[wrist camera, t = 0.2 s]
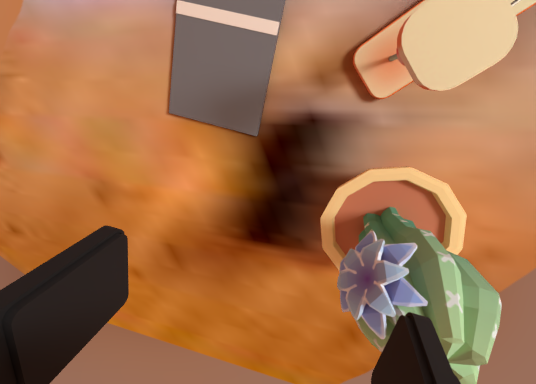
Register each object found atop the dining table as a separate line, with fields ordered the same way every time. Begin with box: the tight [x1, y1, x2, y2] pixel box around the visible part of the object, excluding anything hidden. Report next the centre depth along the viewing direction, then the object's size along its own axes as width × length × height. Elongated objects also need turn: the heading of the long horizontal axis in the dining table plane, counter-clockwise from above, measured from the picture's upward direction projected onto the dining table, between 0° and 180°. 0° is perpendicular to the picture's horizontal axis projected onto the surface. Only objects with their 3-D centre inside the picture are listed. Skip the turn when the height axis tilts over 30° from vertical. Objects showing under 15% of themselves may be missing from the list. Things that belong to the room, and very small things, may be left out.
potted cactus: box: [320, 167, 501, 384], centre depth 28 cm, size 15×15×25 cm
